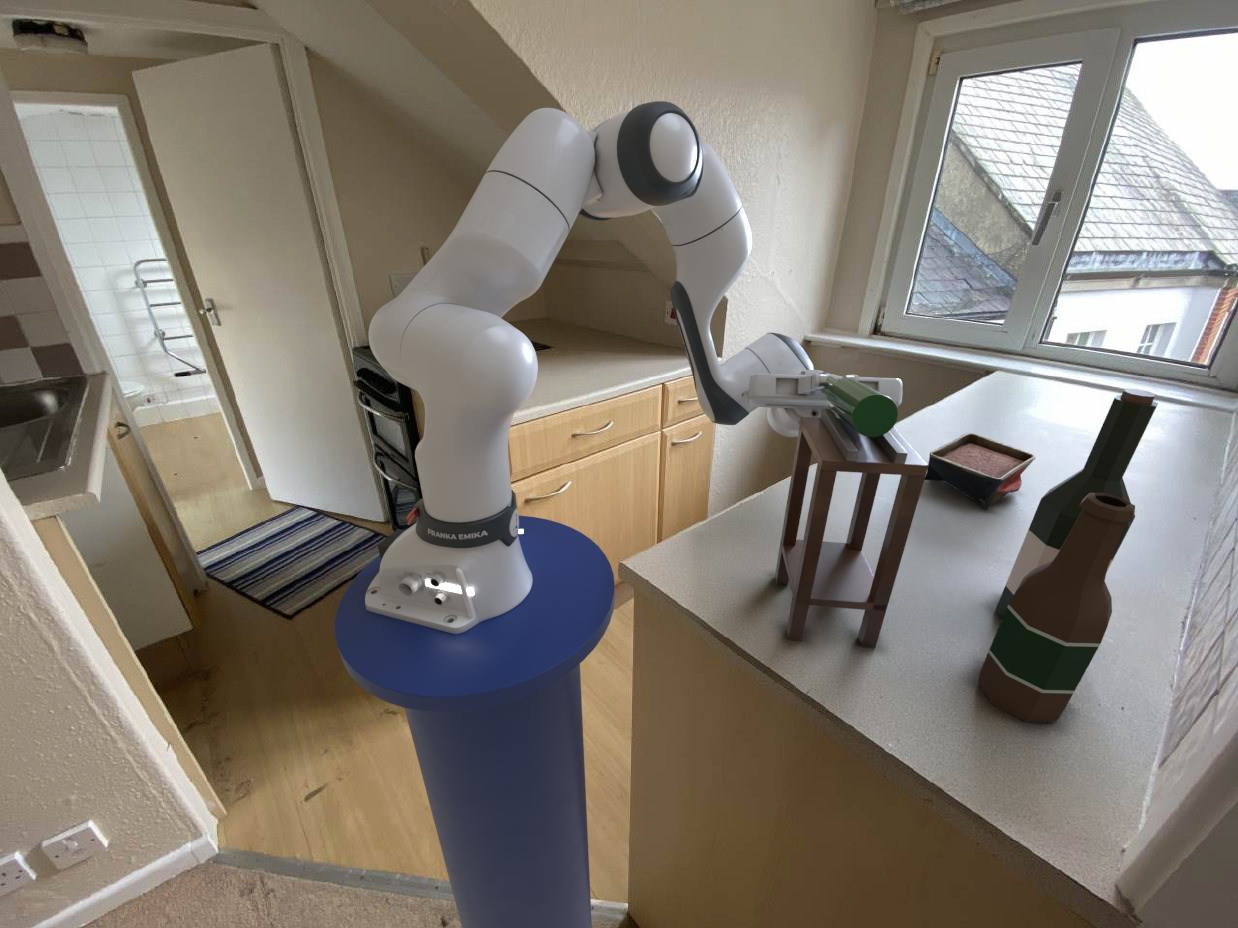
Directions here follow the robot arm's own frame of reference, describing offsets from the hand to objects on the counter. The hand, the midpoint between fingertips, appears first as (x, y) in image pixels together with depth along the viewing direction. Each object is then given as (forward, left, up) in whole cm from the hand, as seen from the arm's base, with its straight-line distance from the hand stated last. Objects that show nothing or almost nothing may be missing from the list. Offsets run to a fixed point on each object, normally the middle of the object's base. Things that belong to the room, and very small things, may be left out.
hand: (837, 380), depth 66 cm
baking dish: (+34, +25, -27) cm, 50 cm away
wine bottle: (+26, -11, -27) cm, 39 cm away
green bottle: (0, -6, -3) cm, 7 cm away
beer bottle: (+18, -23, -27) cm, 40 cm away
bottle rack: (0, -12, -27) cm, 29 cm away
